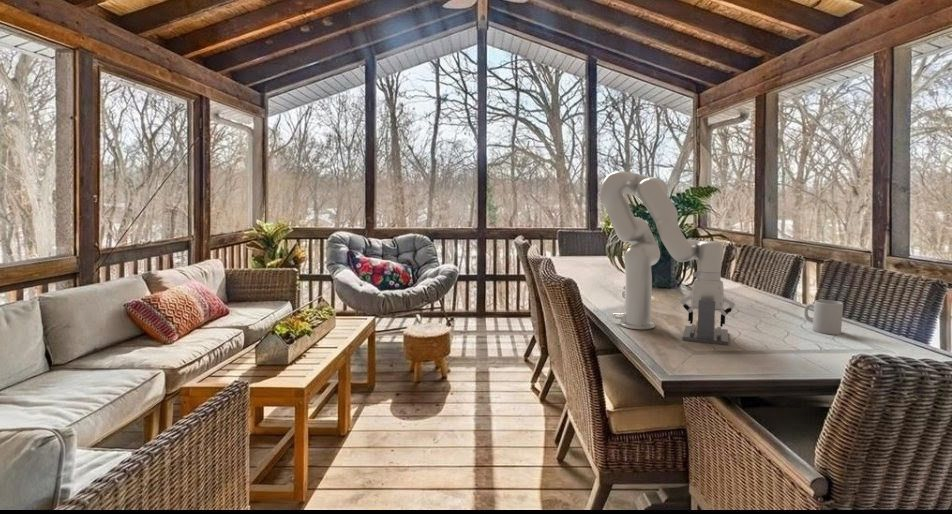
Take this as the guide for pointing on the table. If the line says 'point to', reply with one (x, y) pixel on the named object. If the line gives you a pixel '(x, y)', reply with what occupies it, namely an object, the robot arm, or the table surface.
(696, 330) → the paper roll
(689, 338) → the roll holder
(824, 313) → the mug
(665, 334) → the table surface
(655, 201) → the robot arm
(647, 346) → the table surface
